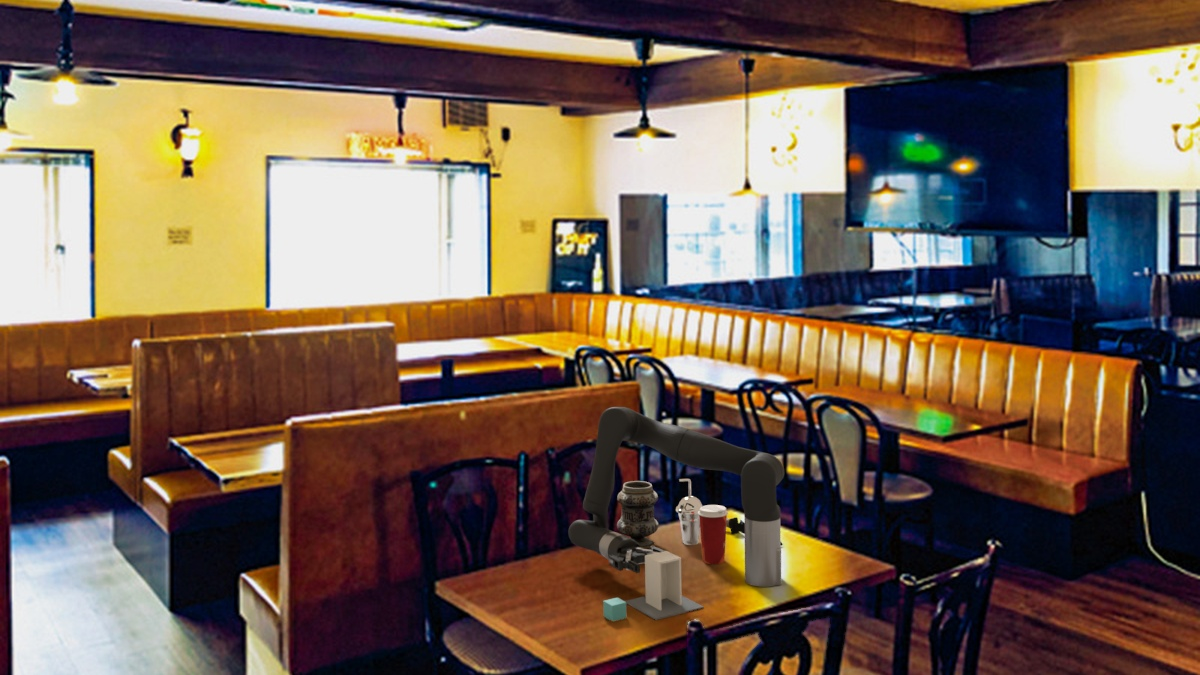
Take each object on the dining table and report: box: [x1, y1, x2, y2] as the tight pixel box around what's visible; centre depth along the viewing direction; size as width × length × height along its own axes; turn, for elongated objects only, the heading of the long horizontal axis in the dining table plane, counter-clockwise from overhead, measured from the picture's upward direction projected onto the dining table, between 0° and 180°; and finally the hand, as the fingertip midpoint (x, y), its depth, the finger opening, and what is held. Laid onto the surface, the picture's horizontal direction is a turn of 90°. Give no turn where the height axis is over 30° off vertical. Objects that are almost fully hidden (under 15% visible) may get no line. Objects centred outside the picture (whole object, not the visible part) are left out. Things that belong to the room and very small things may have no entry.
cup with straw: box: [675, 478, 703, 546], centre depth 314 cm, size 8×9×20 cm
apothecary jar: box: [616, 480, 659, 549], centre depth 314 cm, size 12×12×18 cm
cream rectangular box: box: [644, 550, 683, 610], centre depth 265 cm, size 6×6×12 cm
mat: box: [624, 595, 704, 621], centre depth 266 cm, size 14×14×1 cm
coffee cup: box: [698, 504, 729, 565], centre depth 298 cm, size 8×8×15 cm
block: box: [602, 597, 627, 622], centre depth 259 cm, size 4×4×4 cm
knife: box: [726, 516, 784, 546], centre depth 321 cm, size 31×3×4 cm, turn 37°
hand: (653, 566), depth 269 cm, fingers open, 8 cm apart
